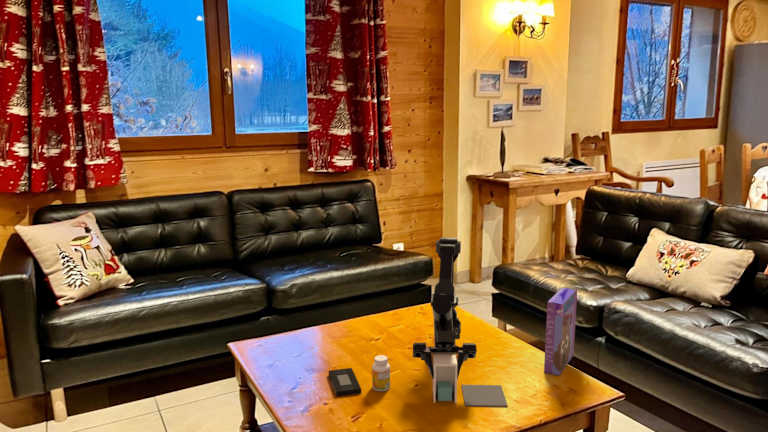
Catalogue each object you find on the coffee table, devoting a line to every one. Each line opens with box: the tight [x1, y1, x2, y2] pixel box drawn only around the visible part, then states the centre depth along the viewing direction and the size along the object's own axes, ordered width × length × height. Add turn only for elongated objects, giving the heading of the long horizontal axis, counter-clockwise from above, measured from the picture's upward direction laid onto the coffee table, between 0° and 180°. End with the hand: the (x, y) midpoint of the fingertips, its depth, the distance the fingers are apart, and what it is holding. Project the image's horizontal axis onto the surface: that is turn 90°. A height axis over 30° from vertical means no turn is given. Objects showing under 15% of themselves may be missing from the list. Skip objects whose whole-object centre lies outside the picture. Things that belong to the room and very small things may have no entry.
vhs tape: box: [328, 367, 362, 397], centre depth 182 cm, size 8×14×2 cm, turn 14°
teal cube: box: [436, 382, 453, 402], centre depth 173 cm, size 4×4×4 cm
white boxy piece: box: [432, 353, 458, 404], centre depth 172 cm, size 7×7×12 cm
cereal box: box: [543, 286, 578, 377], centre depth 192 cm, size 17×5×24 cm, turn 148°
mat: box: [461, 384, 508, 408], centre depth 174 cm, size 12×12×1 cm
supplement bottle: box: [371, 354, 391, 392], centre depth 178 cm, size 5×5×10 cm
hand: (445, 378), depth 171 cm, fingers closed on white boxy piece, 7 cm apart
